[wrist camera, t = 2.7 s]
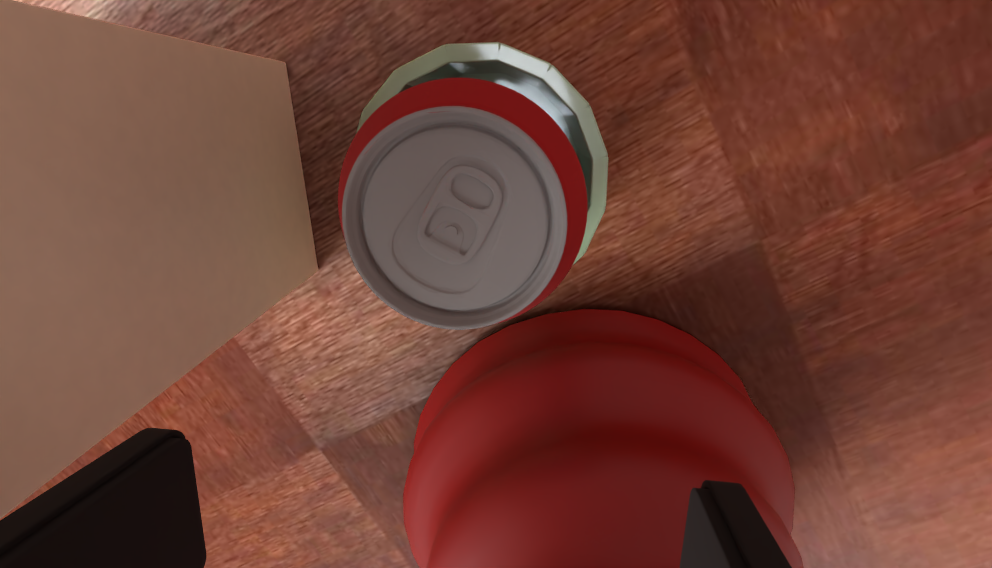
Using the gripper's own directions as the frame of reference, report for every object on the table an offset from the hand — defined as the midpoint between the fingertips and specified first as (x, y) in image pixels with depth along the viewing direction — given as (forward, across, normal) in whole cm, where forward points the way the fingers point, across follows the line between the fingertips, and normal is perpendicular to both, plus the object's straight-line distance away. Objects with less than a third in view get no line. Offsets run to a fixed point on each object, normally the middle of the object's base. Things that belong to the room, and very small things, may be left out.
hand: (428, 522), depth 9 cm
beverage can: (+16, +1, -6) cm, 17 cm away
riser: (+15, +15, -6) cm, 22 cm away
